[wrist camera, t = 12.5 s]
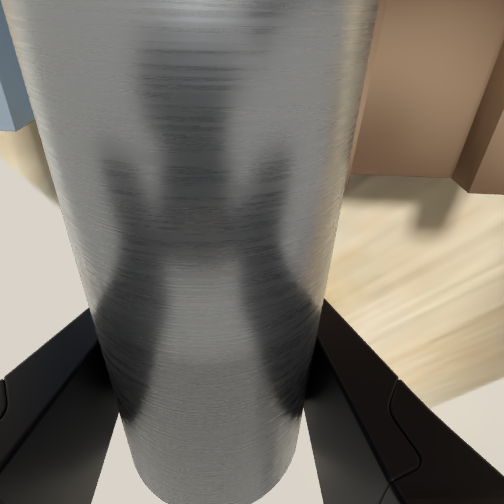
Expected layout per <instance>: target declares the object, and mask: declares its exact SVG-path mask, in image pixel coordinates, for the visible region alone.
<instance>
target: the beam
mask: <svg viewBox="0 0 504 504" xmlns="http://www.w3.org/2000/svg"><path fill="white" fill-rule="evenodd" d="M350 174H369V175H393V176H416V177H439V178H452V179H453V180H454V181H455V182H457V183H458V184H459V185H460V186H461V187H462V188H463V189H464V190H465V191H467V192H468V193H477V194H501V195H504V0H380V1H379V7H378V12H377V17H376V22H375V28H374V33H373V38H372V44H371V49H370V54H369V60H368V65H367V70H366V76H365V81H364V86H363V92H362V97H361V102H360V108H359V113H358V118H357V124H356V129H355V134H354V140H353V145H352V150H351V156H350V161H349V166H348V172H347V177H346V182H345V188H347V186H348V181H349V177H350Z"/></svg>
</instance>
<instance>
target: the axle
mask: <svg viewBox="0 0 504 504" xmlns="http://www.w3.org/2000/svg"><path fill="white" fill-rule="evenodd" d="M379 1H380V0H1V3H2V6H3V10H4V13H5V17H6V20H7V23H8V27H9V30H10V34H11V37H12V41H13V44H14V48H15V51H16V55H17V58H18V62H19V65H20V69H21V72H22V76H23V79H24V83H25V86H26V89H27V93H28V96H29V100H30V103H31V107H32V110H33V114H34V117H35V121H36V124H37V128H38V131H39V135H40V138H41V142H42V145H43V149H44V152H45V155H46V159H47V162H48V166H49V169H50V173H51V176H52V180H53V183H54V187H55V190H56V194H57V197H58V201H59V204H60V208H61V211H62V214H63V218H64V221H65V225H66V228H67V232H68V235H69V239H70V242H71V246H72V249H73V253H74V256H75V260H76V263H77V266H78V270H79V273H80V277H81V280H82V284H83V287H84V291H85V294H86V297H87V301H88V305H89V308H90V312H91V315H92V319H93V322H94V326H95V329H96V333H97V336H98V340H99V343H100V347H101V350H102V353H103V357H104V360H105V364H106V367H107V371H108V374H109V378H110V381H111V385H112V388H113V392H114V395H115V399H116V402H117V406H118V409H119V413H120V416H121V419H122V423H123V426H124V430H125V433H126V436H127V440H128V444H129V447H130V450H131V454H132V458H133V461H134V464H135V467H136V469H137V471H138V473H139V475H140V477H141V478H142V480H143V482H144V483H145V485H146V486H147V487H148V488H149V489H150V490H151V491H152V492H153V493H154V494H155V495H156V496H158V497H159V498H160V499H161V500H163V501H164V502H166V503H168V504H251V503H253V502H255V501H256V500H258V499H260V498H261V497H262V496H263V495H265V494H266V493H267V492H269V491H270V490H271V489H272V488H273V487H274V486H275V485H276V484H277V483H278V482H279V480H280V479H281V477H282V476H283V475H284V473H285V472H286V470H287V468H288V466H289V464H290V463H291V460H292V457H293V455H294V452H295V448H296V443H297V438H298V433H299V427H300V422H301V417H302V411H303V406H304V401H305V396H306V390H307V385H308V380H309V374H310V369H311V364H312V358H313V353H314V348H315V342H316V337H317V332H318V326H319V321H320V316H321V310H322V305H323V300H324V294H325V289H326V284H327V278H328V273H329V268H330V262H331V257H332V252H333V246H334V241H335V236H336V230H337V225H338V220H339V214H340V209H341V204H342V198H343V193H344V188H345V182H346V177H347V172H348V166H349V161H350V156H351V150H352V145H353V140H354V134H355V129H356V124H357V118H358V113H359V108H360V102H361V97H362V92H363V86H364V81H365V76H366V70H367V65H368V60H369V54H370V49H371V44H372V38H373V33H374V28H375V22H376V17H377V12H378V7H379Z"/></svg>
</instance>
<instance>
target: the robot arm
mask: <svg viewBox="0 0 504 504" xmlns="http://www.w3.org/2000/svg"><path fill="white" fill-rule="evenodd" d="M304 411H305V416H306V421H307V426H308V430H309V435H310V440H311V444H312V450H313V455H314V459H315V464H316V469H317V474H318V479H319V483H320V488H321V493H322V498H323V503H324V504H504V476H503V475H502V474H501V473H500V472H499V471H497V470H496V469H495V468H494V467H493V466H492V465H491V464H490V463H488V462H487V461H486V460H485V459H484V458H483V457H482V456H481V455H479V454H478V453H477V452H476V451H475V450H474V449H473V448H472V447H470V446H469V445H468V444H467V443H466V442H465V441H464V440H463V439H461V438H460V437H459V436H458V435H457V434H456V433H455V432H453V430H451V429H450V428H449V427H448V426H447V425H446V424H445V423H444V422H443V421H442V420H441V419H440V418H438V417H437V416H436V415H435V414H434V413H433V412H432V411H431V410H430V409H429V408H428V407H427V406H426V405H425V404H424V403H423V402H422V401H421V400H420V399H419V398H418V397H417V396H416V395H415V394H414V393H413V392H412V391H411V390H410V389H409V388H408V387H407V385H406V384H405V383H404V382H403V381H402V380H398V376H397V375H396V374H395V373H394V372H393V371H392V370H391V369H390V368H389V367H388V365H387V364H386V363H385V362H384V361H383V360H382V359H381V358H380V357H379V356H378V355H377V354H376V353H375V352H374V351H373V350H372V348H371V347H370V346H369V345H368V344H367V343H366V342H365V341H364V340H363V339H362V338H361V337H360V336H359V335H358V334H357V333H356V331H355V330H354V329H353V328H352V327H351V326H350V325H349V324H348V323H347V322H346V321H345V320H344V319H343V318H342V317H341V316H340V314H339V313H338V312H337V311H336V310H335V309H334V308H333V307H332V306H331V305H330V304H329V303H328V302H327V301H326V300H325V298H324V300H323V305H322V310H321V316H320V321H319V326H318V332H317V337H316V342H315V348H314V353H313V358H312V364H311V369H310V374H309V380H308V385H307V390H306V396H305V401H304ZM118 413H119V409H118V406H117V402H116V399H115V395H114V392H113V388H112V385H111V381H110V378H109V374H108V371H107V367H106V364H105V360H104V357H103V353H102V350H101V347H100V343H99V340H98V336H97V333H96V329H95V326H94V322H93V319H92V315H91V312H90V308H88V309H87V310H85V311H84V312H83V313H82V314H80V315H79V316H78V317H77V318H76V319H74V320H73V321H72V322H71V323H69V324H68V325H67V326H66V327H65V328H63V329H62V330H61V331H60V332H58V333H57V334H56V335H55V336H54V337H52V338H51V339H50V340H49V341H47V342H46V343H45V344H44V345H43V346H41V347H40V348H39V349H38V350H37V351H36V352H34V353H33V354H32V355H30V356H29V357H28V358H27V359H26V360H25V361H23V362H22V363H21V364H19V365H18V366H17V367H16V368H15V369H13V370H12V371H11V372H10V373H9V374H7V375H6V376H5V377H4V380H3V379H1V380H0V504H91V502H92V498H93V496H94V492H95V489H96V486H97V482H98V479H99V476H100V473H101V469H102V466H103V463H104V459H105V456H106V453H107V450H108V446H109V443H110V440H111V436H112V433H113V430H114V427H115V423H116V420H117V417H118Z"/></svg>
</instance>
